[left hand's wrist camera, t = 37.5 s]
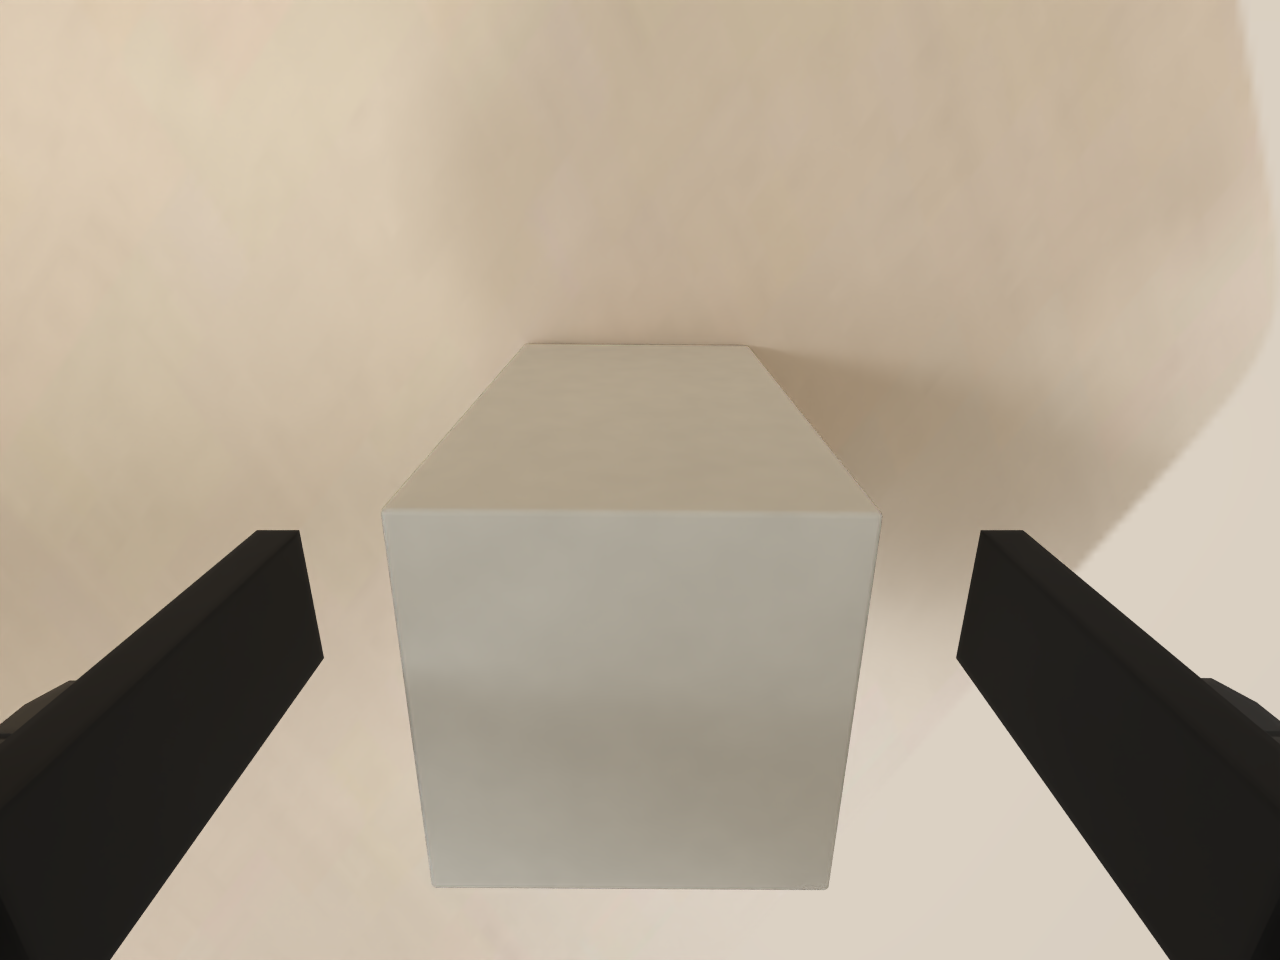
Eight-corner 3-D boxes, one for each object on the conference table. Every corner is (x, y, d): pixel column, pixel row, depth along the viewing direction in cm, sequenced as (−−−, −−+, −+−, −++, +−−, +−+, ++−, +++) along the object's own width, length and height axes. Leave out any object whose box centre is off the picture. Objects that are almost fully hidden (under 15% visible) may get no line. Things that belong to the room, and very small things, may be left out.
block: (749, 345, 19) (885, 513, 9) (735, 553, 22) (829, 892, 11) (524, 343, 19) (377, 509, 9) (534, 552, 22) (430, 890, 11)
